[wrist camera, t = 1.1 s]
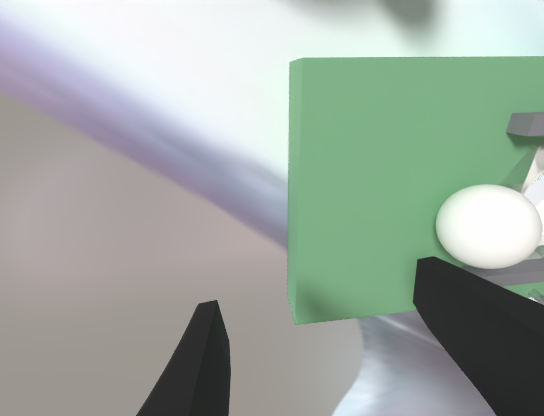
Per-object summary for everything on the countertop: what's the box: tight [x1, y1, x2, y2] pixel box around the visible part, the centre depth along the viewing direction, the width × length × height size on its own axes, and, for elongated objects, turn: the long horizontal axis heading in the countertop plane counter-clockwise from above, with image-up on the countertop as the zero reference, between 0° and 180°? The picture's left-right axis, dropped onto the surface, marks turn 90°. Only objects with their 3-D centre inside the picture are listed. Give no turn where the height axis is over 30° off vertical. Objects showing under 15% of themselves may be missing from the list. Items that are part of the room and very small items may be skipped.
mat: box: [287, 56, 544, 325], centre depth 18 cm, size 24×16×4 cm, turn 91°
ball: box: [436, 184, 543, 269], centre depth 15 cm, size 4×4×4 cm
